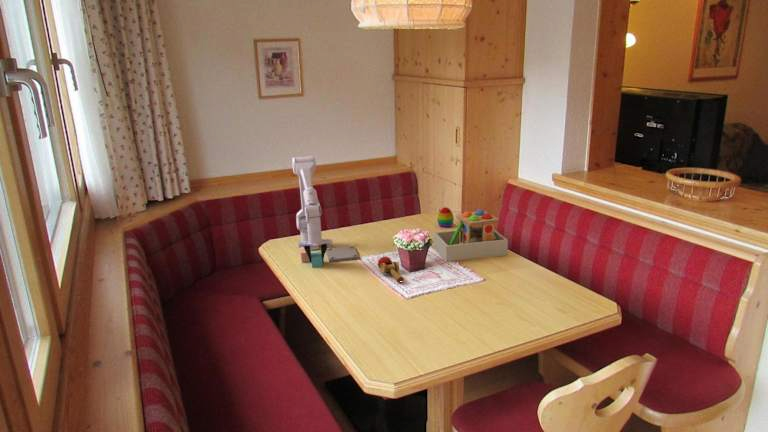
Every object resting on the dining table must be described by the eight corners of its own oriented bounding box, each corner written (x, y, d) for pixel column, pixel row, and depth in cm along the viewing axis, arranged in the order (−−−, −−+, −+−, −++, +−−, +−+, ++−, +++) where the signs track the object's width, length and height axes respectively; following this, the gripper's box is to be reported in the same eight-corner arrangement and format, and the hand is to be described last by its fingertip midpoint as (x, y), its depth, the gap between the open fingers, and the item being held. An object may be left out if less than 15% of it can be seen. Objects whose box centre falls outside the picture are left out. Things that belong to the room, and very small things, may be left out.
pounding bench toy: (451, 260, 236) (451, 221, 231) (437, 249, 249) (437, 212, 243) (498, 252, 243) (499, 214, 238) (482, 242, 256) (483, 206, 250)
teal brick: (311, 262, 239) (310, 252, 237) (321, 261, 239) (320, 251, 238) (312, 267, 233) (311, 257, 232) (322, 266, 234) (321, 256, 233)
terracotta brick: (301, 258, 245) (300, 248, 243) (310, 257, 245) (310, 247, 244) (301, 262, 239) (301, 253, 238) (311, 261, 240) (311, 252, 238)
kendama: (410, 284, 217) (391, 263, 232) (409, 271, 214) (389, 250, 229) (393, 290, 215) (375, 269, 230) (391, 277, 212) (372, 257, 227)
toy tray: (433, 246, 253) (433, 232, 250) (490, 240, 258) (490, 226, 256) (446, 261, 235) (446, 246, 233) (507, 254, 240) (507, 239, 238)
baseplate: (325, 251, 251) (325, 247, 251) (353, 248, 254) (353, 244, 253) (329, 262, 238) (329, 258, 238) (358, 259, 241) (358, 255, 240)
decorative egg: (456, 227, 278) (456, 208, 275) (441, 229, 276) (441, 210, 273) (449, 223, 285) (449, 204, 282) (435, 224, 283) (435, 206, 280)
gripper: (297, 236, 227) (300, 266, 231) (332, 232, 229) (334, 262, 233) (296, 231, 233) (299, 260, 237) (330, 227, 236) (332, 257, 240)
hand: (316, 261), depth 236 cm, fingers closed on teal brick, 4 cm apart
